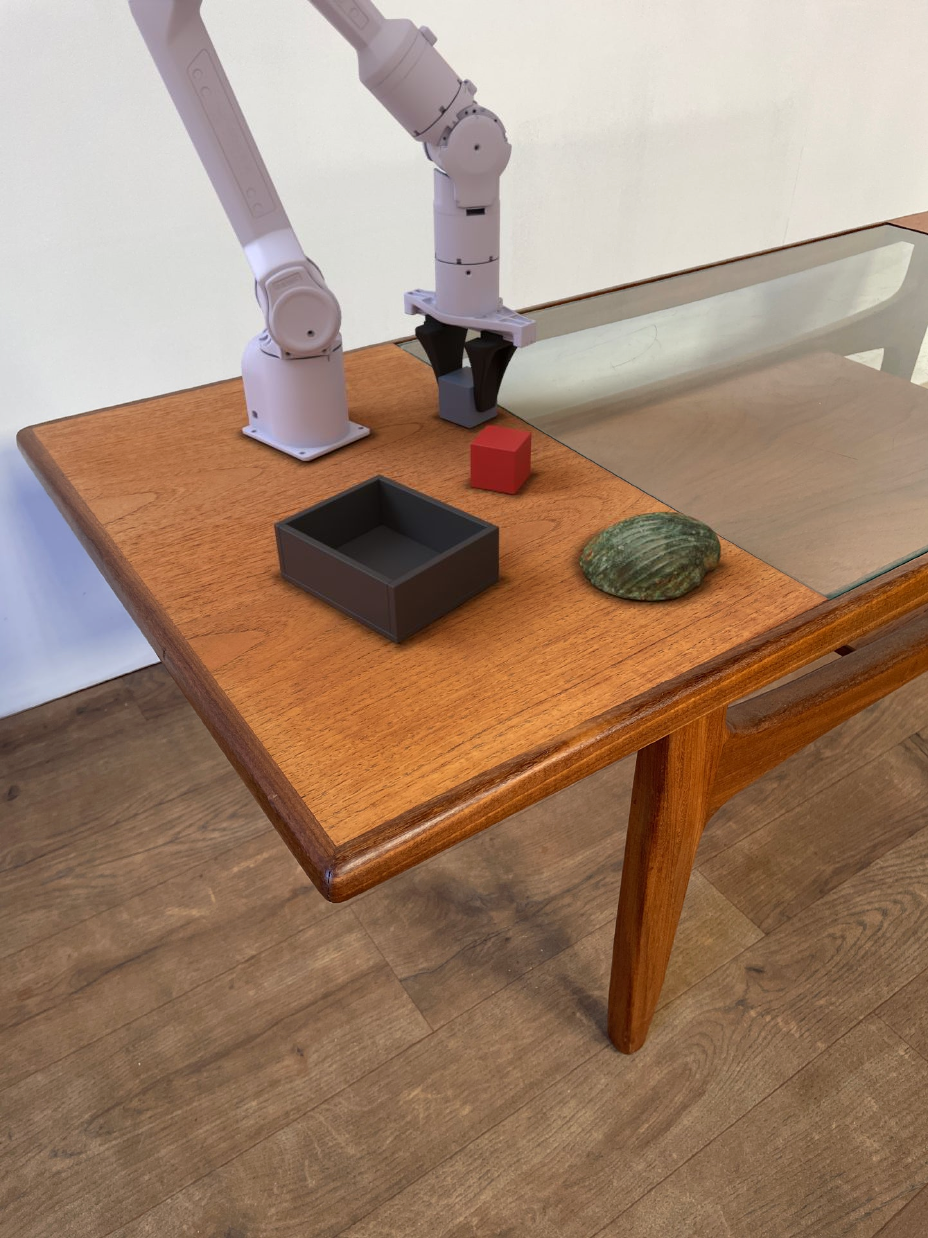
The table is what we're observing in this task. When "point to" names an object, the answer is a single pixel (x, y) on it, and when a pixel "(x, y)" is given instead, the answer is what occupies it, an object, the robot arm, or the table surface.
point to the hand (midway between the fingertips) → (468, 402)
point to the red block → (500, 459)
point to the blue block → (460, 399)
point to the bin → (388, 555)
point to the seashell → (651, 556)
